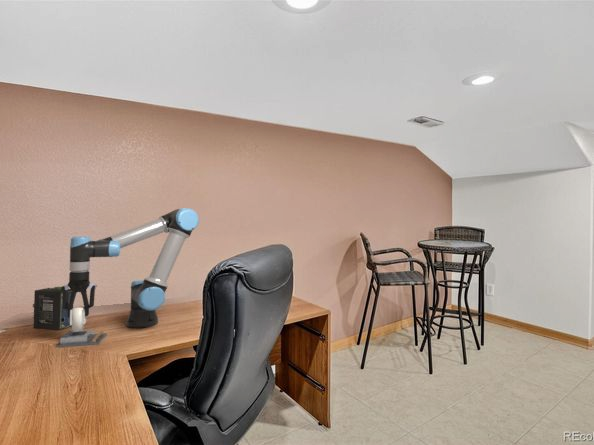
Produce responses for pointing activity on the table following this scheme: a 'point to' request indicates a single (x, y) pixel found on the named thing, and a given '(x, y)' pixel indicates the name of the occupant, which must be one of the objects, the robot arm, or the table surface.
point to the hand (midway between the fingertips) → (78, 323)
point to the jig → (81, 338)
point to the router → (50, 309)
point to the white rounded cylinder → (77, 319)
